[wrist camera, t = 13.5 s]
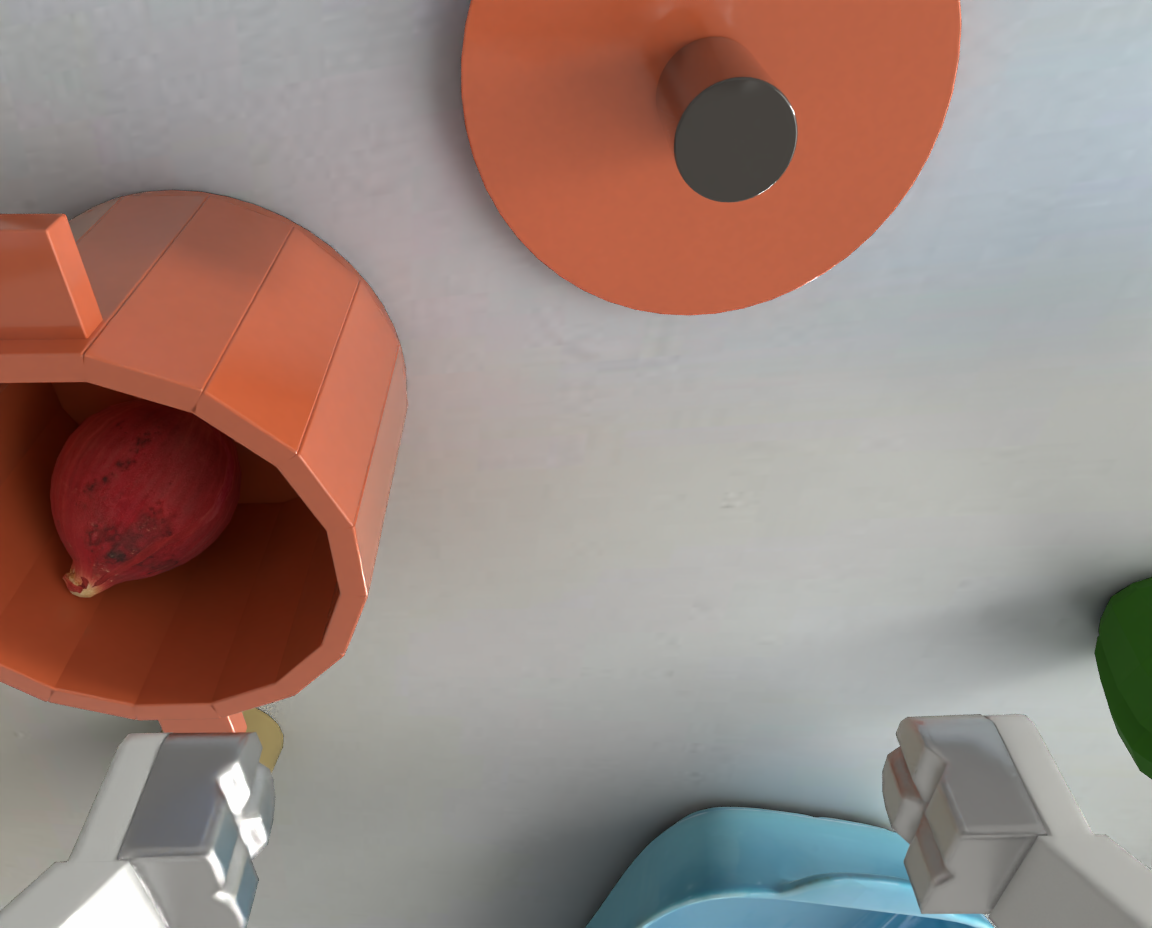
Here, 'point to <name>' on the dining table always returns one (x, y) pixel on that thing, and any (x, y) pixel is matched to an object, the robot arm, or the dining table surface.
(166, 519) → the onion
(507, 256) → the dining table surface
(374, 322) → the pot
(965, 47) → the dining table surface
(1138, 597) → the bell pepper
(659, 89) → the pot lid
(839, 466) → the dining table surface
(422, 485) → the dining table surface
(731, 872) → the casserole dish
